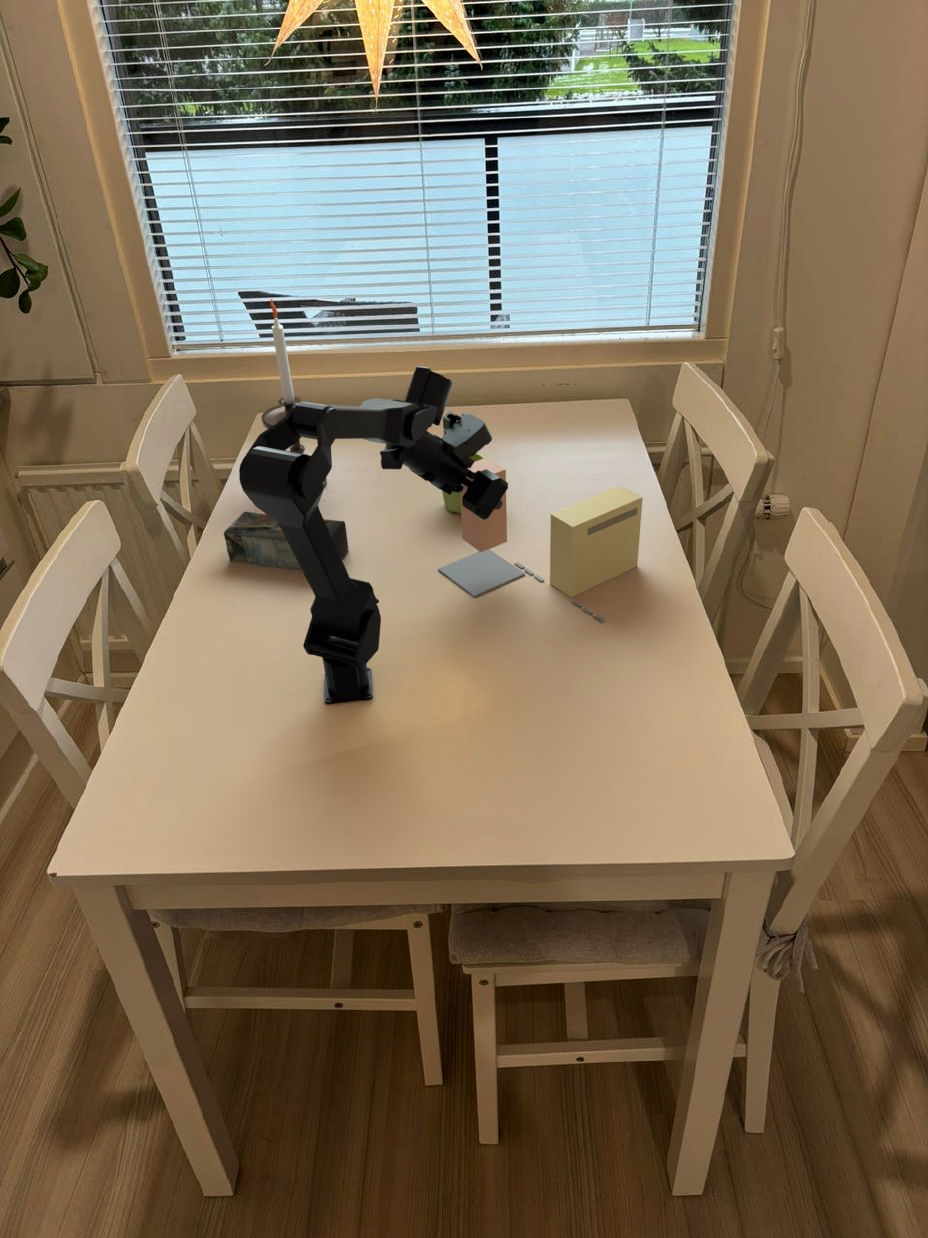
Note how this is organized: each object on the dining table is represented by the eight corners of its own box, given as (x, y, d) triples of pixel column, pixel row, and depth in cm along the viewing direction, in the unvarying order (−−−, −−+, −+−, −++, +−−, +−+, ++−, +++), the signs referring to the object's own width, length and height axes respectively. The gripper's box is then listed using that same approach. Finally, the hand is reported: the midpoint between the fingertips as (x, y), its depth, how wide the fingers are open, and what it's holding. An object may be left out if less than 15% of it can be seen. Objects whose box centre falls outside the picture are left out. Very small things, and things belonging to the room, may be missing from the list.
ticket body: (571, 597, 142) (572, 527, 135) (549, 583, 146) (550, 513, 139) (637, 566, 149) (642, 497, 141) (615, 553, 152) (619, 485, 145)
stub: (481, 552, 142) (478, 479, 135) (462, 538, 146) (458, 467, 138) (507, 541, 145) (505, 469, 137) (488, 528, 148) (485, 457, 141)
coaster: (474, 597, 144) (474, 595, 144) (438, 570, 150) (438, 568, 150) (524, 574, 148) (524, 573, 148) (487, 549, 155) (487, 547, 155)
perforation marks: (601, 622, 137) (601, 621, 137) (514, 564, 151) (514, 563, 151) (604, 621, 137) (604, 620, 137) (517, 562, 151) (517, 561, 151)
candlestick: (268, 479, 179) (233, 296, 159) (322, 467, 183) (295, 286, 162) (283, 503, 171) (248, 313, 151) (339, 490, 175) (312, 302, 154)
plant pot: (496, 511, 165) (495, 467, 160) (447, 523, 163) (444, 479, 158) (476, 489, 172) (474, 446, 167) (428, 500, 170) (425, 457, 165)
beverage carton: (249, 539, 162) (243, 505, 158) (352, 551, 157) (347, 517, 153) (228, 563, 156) (220, 529, 152) (333, 576, 151) (328, 541, 147)
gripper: (495, 426, 123) (558, 476, 135) (420, 385, 136) (484, 434, 147) (449, 497, 124) (516, 541, 136) (379, 449, 137) (445, 493, 148)
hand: (490, 499), depth 142 cm, fingers closed on stub, 5 cm apart
